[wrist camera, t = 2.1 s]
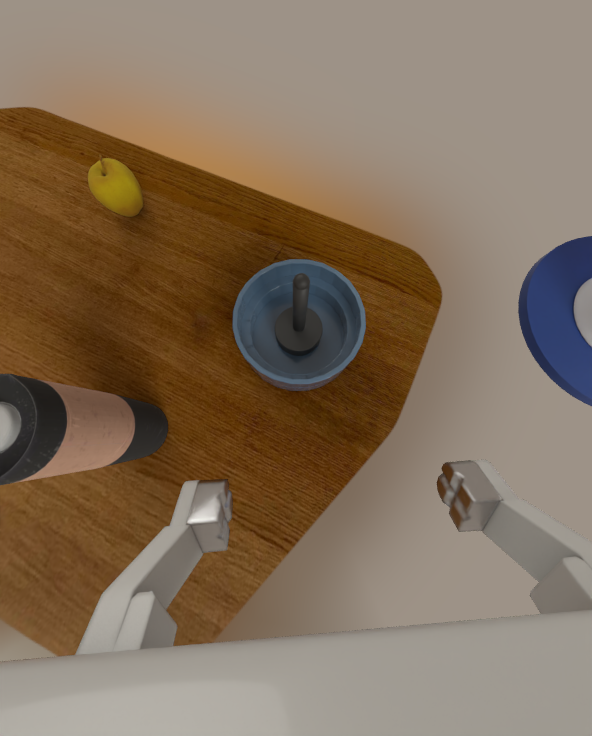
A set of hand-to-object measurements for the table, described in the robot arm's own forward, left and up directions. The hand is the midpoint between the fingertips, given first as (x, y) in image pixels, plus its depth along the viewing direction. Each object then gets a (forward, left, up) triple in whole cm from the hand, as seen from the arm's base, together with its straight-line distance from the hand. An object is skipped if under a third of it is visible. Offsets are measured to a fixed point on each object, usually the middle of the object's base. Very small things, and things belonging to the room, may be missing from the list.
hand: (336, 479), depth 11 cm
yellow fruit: (+36, -29, -27) cm, 53 cm away
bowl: (+5, -15, -27) cm, 31 cm away
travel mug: (+22, +3, -27) cm, 35 cm away
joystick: (+5, -15, -26) cm, 31 cm away
